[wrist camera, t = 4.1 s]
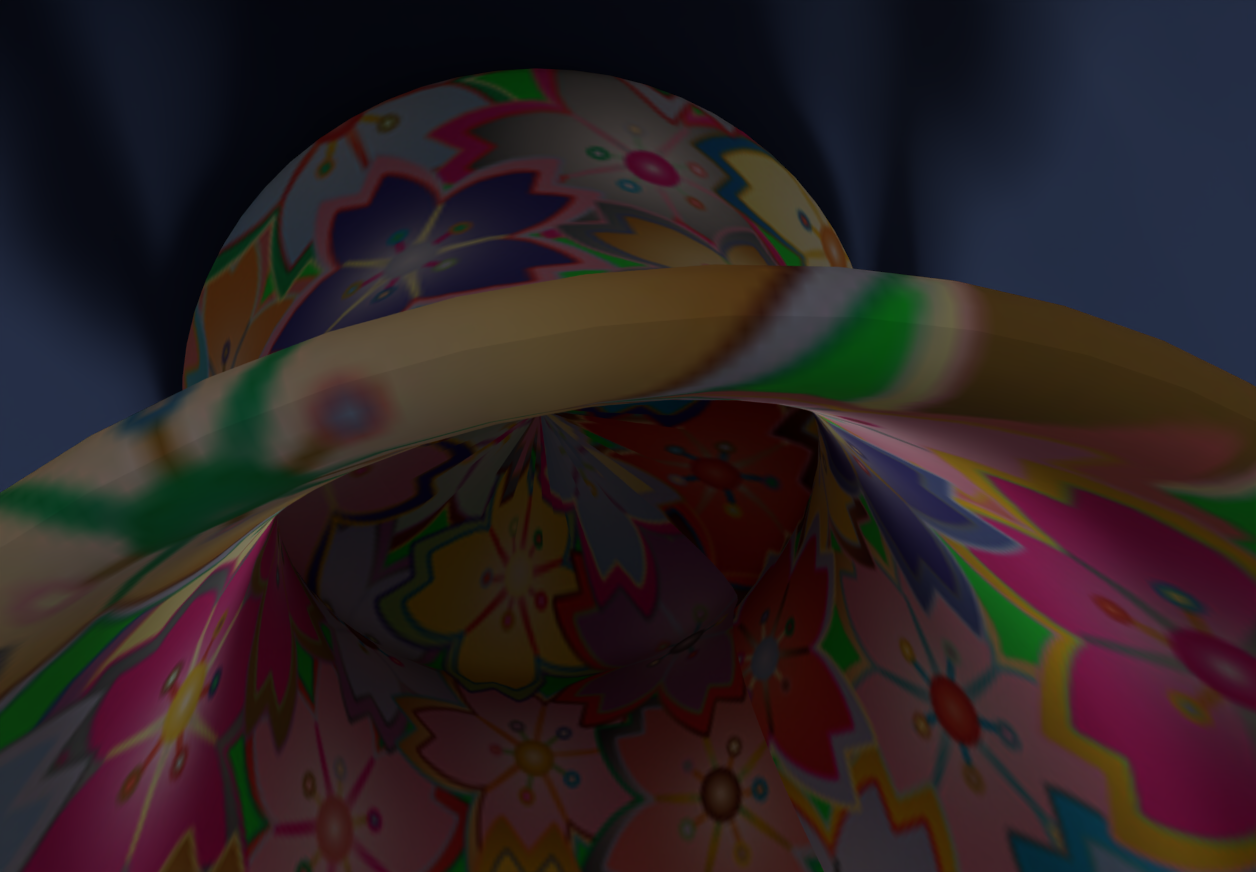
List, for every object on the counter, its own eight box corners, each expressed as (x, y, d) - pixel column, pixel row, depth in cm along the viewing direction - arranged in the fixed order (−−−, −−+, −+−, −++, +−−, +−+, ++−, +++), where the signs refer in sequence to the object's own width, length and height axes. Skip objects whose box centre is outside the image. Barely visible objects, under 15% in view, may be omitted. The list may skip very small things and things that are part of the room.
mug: (6, 419, 15) (-857, 1410, 5) (523, -167, 13) (763, -413, 3) (666, 875, 19) (889, 1850, 9) (1116, 491, 17) (1955, 1215, 8)
